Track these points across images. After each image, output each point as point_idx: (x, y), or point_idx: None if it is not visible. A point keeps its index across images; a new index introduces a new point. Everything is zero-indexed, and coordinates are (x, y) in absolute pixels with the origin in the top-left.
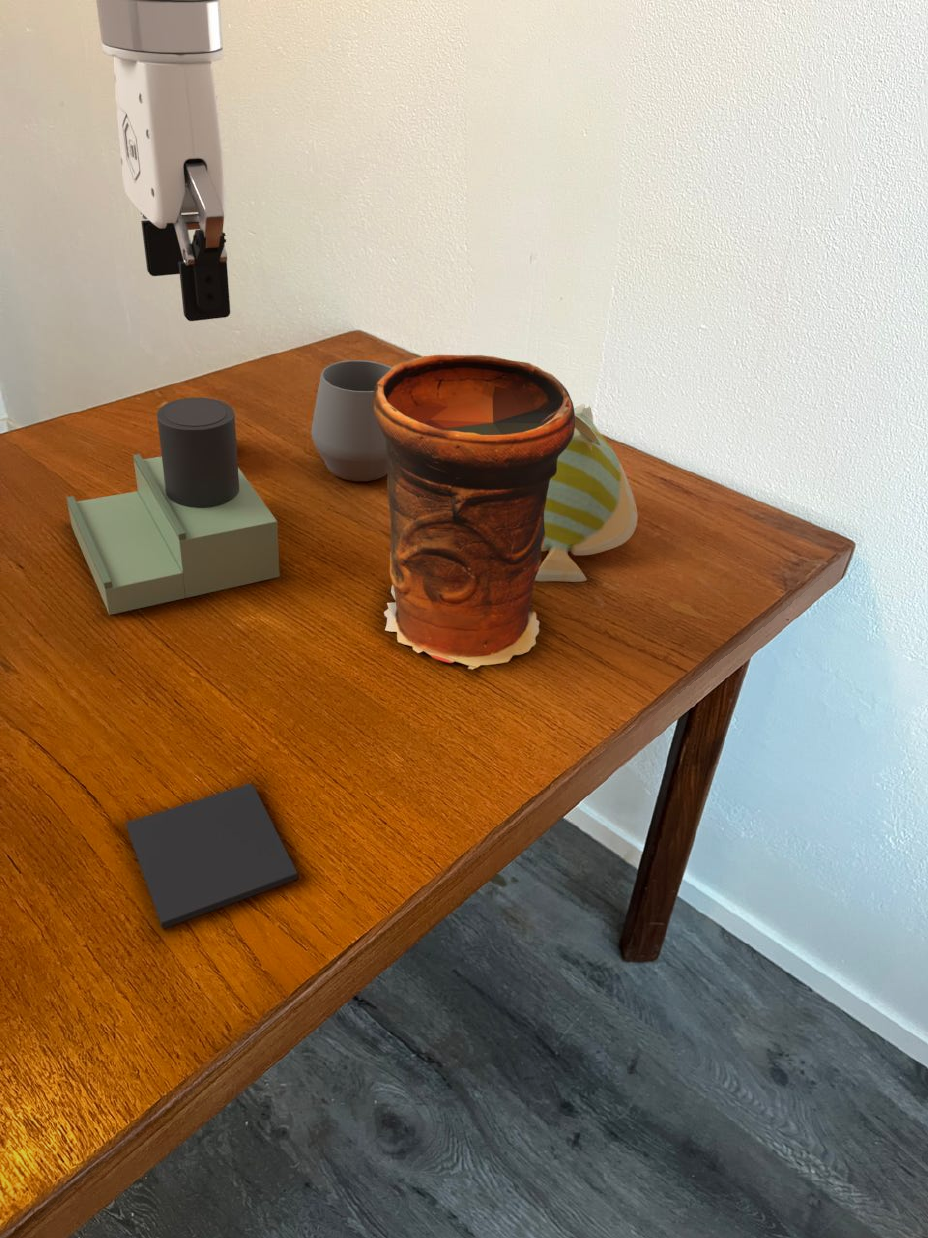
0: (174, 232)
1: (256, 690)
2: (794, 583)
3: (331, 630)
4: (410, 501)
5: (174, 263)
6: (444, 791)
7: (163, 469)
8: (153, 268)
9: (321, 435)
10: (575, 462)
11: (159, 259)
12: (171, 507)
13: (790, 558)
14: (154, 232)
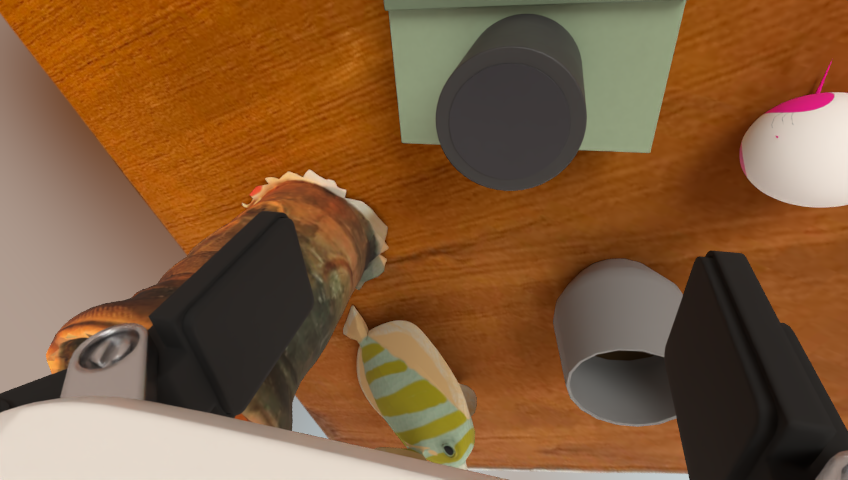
0: (704, 456)
1: (238, 15)
2: (313, 416)
3: (319, 124)
4: (183, 266)
5: (682, 344)
6: (122, 119)
7: (528, 22)
8: (699, 275)
9: (618, 282)
10: (397, 421)
11: (702, 319)
12: (486, 10)
13: (339, 433)
14: (735, 407)
